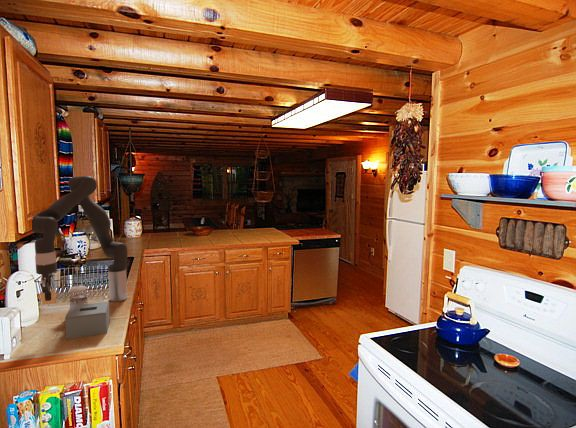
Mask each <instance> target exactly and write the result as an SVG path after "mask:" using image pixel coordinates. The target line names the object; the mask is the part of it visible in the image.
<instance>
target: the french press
mask: <svg viewBox="0 0 576 428" xmlns="http://www.w3.org/2000/svg"><path fill="white" fill-rule="evenodd" d="M79 270H80V268H79V267H75V268H74V271H79ZM76 278H77V279H76V283H77V285H74V286H72V287H70V288H69V289H68V292H69V293H77V294H74V295H72V296H70V298H69V299H70V300H69V308H70V307H71V306H72V305H81V304H89V302H88V297H87V294H84V293H82V292H84V291H86V290H87V289H88V287H87V286H85V285H82V284H80V285H79V278H78V275H76Z"/></svg>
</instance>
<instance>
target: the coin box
mask: <svg viewBox="0 0 576 428" xmlns="http://www.w3.org/2000/svg"><path fill="white" fill-rule="evenodd" d="M110 321H111V317H110V300H109V301H101V302H93V303H87V304H86V303H84V304H81V305H71V307H70V306H69V308H68V311H67V313H66V315H65V316H64V322H65V334H66V335H65V337H66V339H67V340H69V339H75V338H81V337H90V336H96V335H97V336H98V335H103V334H107V333H108V331H109V325H110Z"/></svg>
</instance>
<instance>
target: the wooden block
mask: <svg viewBox="0 0 576 428" xmlns="http://www.w3.org/2000/svg"><path fill="white" fill-rule="evenodd" d="M40 300H41V305H42V306H43V305H54V304H56V303H57V290H56V288H53V289H51V300H50V301H45V293H43V292H42V290H41V291H40Z"/></svg>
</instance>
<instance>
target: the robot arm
mask: <svg viewBox="0 0 576 428" xmlns="http://www.w3.org/2000/svg"><path fill="white" fill-rule="evenodd" d="M97 187H98V183H97V181H96V179H95V178H94V177H93V176H90V175H82V176H79V175H78V176H72V177H70V178H69V180H68V188H69V190H70V192H69V193H67V194H66V195H63V196H61V197H59V198H58V199H56V200H55V201H54V202H53V203H52V204H50V206H48V208H46V209H44V210H42V211H41V212H39V213H37V214H35V215H33V216H32V218H33V220H32V231H33V232H32V231H31V232H32V233H36V234H43V235H42V237H40V238H37V239H36V240H35V241H34V252H35V257H34V259H35V260H34V261H35V262H34V263H35V272H36V274H38V275H41V277H40V283H39V286H40V289H41V291H42V292H43V293H45V301H50V300H51V289H54V287H55V286H54V285H55V274H53V273H56V272H57V271H58V265H57V254H56V248H55V240H56V235H57V232H58V227H59V224H58V221H61V220H62V219H63V218H64V217H65V216H66V215H68V213H69V212H70V211H71V210H72V209H73V208H75V207H76V206H77V205H78V204H79V206H80V207H81V209H82V211H83V212H84V215H85V217H86V218H87V221H88V222H89V224H90V226H91V227H92V229H93V231H94V234H95V236H96V237H97V239H98V241H99V243H100V247H101V249H102V252H103V253H104V255H105V257H107V258H109V259H113V263H112V264H109V265H108V267H107V272H108V273H107V275H108V292H109V293H108V295H109V297H110V298H109V301H110V300H111V302H121V301H124V300H126V299H127V298H128V284H127V281H128V280H127V265H128V246H127V245H126V244H125V243H123V242H118V241H115V240H114V239H113V238H112V236H111V233H110V231H111V219H110V217H109V216H108V214H107V212H106V210H105V209H104V208H103V207H101V206H100V205H99V204H97V203H96V202H95V201H94V200H93V199H92V198H91V197H90V195H92V194H93V193H95V192H96V190H97Z"/></svg>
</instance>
